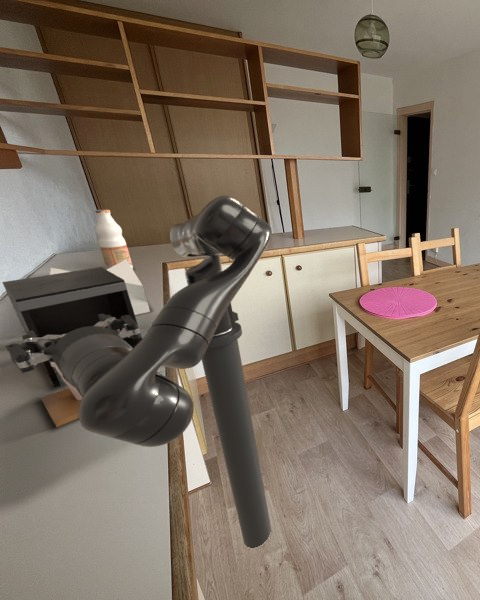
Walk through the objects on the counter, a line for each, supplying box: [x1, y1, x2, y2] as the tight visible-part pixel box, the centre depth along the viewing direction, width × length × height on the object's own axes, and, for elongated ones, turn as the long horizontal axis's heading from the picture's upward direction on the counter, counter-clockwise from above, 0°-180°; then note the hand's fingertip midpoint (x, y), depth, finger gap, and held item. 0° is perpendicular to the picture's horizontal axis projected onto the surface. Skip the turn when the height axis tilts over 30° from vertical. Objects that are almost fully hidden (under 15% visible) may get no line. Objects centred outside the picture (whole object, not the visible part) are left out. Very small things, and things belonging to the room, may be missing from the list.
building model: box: [49, 260, 151, 316], centre depth 113 cm, size 45×22×10 cm, turn 44°
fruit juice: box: [94, 209, 134, 270], centre depth 144 cm, size 9×9×28 cm
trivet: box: [40, 387, 81, 428], centre depth 66 cm, size 12×12×1 cm
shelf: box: [2, 266, 143, 389], centre depth 76 cm, size 17×17×21 cm
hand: (68, 327), depth 53 cm, fingers open, 8 cm apart
